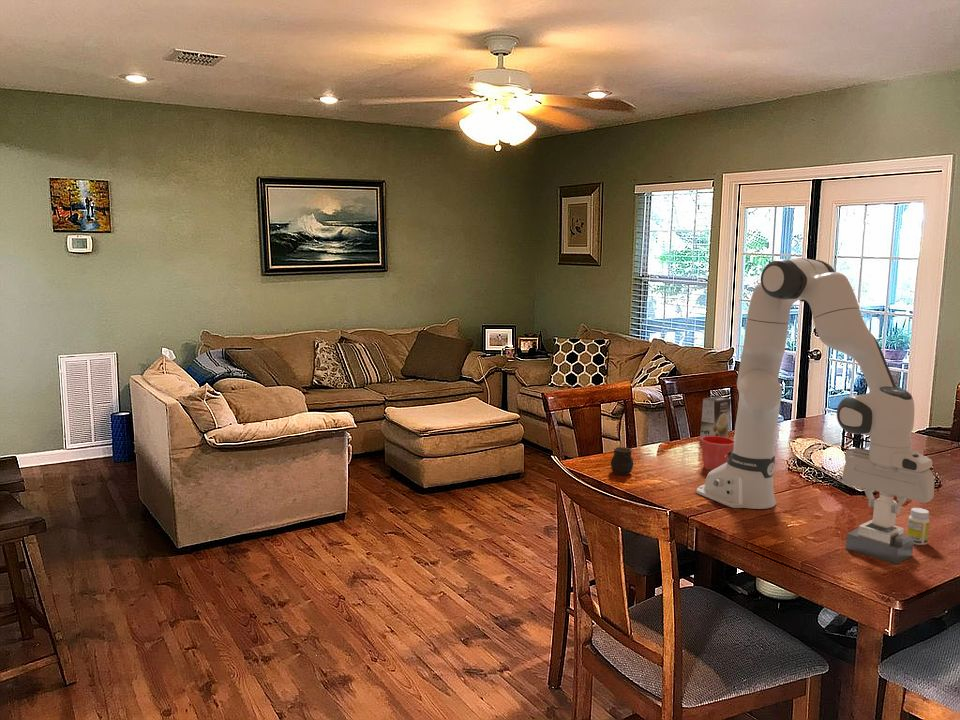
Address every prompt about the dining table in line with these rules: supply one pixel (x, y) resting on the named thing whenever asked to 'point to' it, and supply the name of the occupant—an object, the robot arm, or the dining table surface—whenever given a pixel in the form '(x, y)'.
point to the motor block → (880, 542)
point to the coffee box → (715, 417)
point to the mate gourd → (622, 461)
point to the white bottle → (884, 511)
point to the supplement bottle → (918, 526)
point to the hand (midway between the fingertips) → (883, 510)
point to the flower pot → (715, 451)
